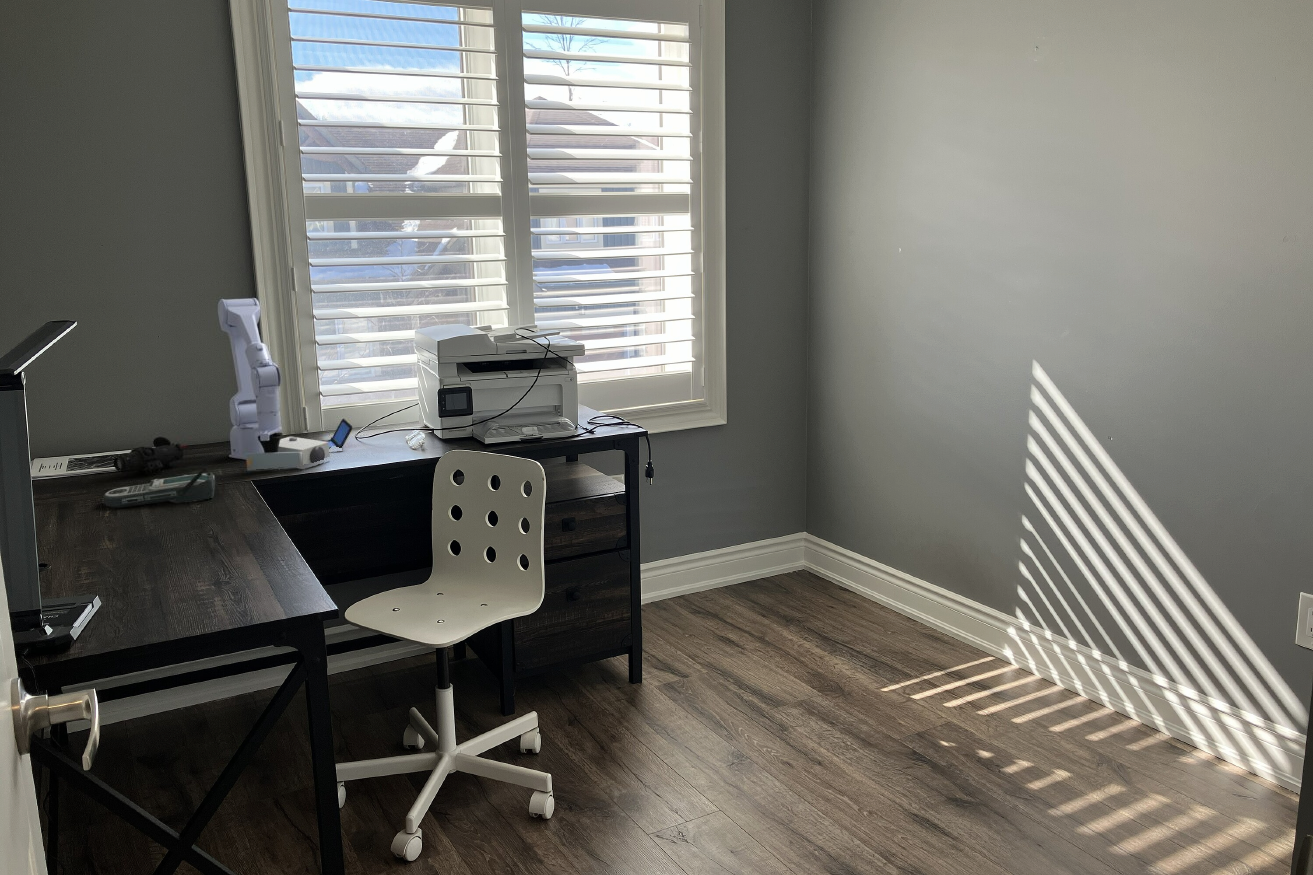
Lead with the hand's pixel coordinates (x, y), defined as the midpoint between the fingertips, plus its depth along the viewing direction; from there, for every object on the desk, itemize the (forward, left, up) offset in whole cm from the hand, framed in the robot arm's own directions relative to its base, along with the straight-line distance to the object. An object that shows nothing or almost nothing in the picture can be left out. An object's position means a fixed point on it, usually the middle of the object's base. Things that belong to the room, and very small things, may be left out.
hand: (272, 460), depth 263 cm
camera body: (0, +9, -2) cm, 9 cm away
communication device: (-3, -32, -3) cm, 32 cm away
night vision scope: (-26, -16, -3) cm, 31 cm away
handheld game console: (-4, +26, -3) cm, 26 cm away
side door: (+2, -1, -2) cm, 3 cm away
